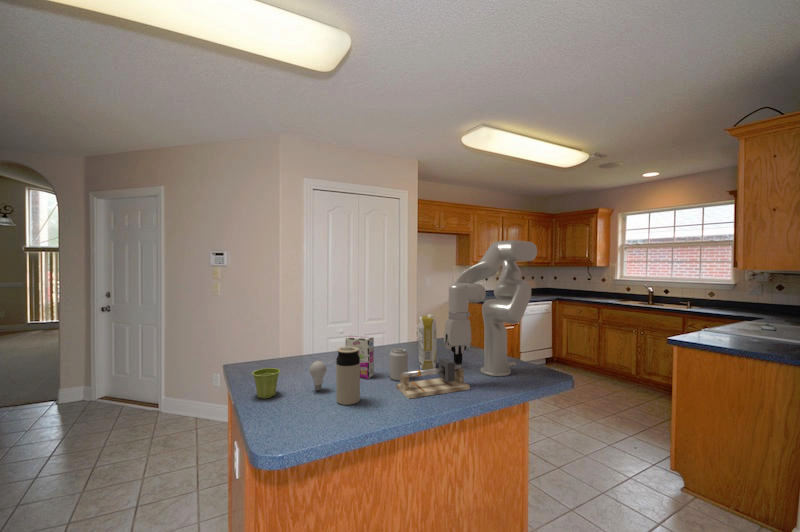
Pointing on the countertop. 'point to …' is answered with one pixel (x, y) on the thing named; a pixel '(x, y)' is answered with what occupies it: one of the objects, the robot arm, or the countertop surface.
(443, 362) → the collar
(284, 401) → the countertop surface
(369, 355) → the candy bar box
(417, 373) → the pipe
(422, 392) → the pipe stand
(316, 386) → the lightbulb
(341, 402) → the travel mug
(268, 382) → the plant pot
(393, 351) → the can
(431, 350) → the juice carton
